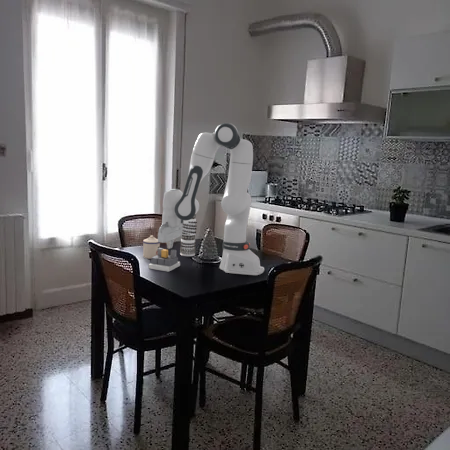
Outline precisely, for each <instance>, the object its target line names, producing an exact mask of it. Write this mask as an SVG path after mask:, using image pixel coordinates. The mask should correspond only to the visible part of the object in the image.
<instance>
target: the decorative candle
mask: <svg viewBox="0 0 450 450" xmlns="http://www.w3.org/2000/svg"><path fill="white" fill-rule="evenodd" d="M196 215H197V213H196V214H195V215H194V217H193V218H192V219H190V220H186V221H185V220H184V223H182V224H183V231H182V235H181V238H180V248H179V249H180V250H179V254H180V255H181V256H182V257H194V256H195V255H196V247H197V246H196V243H197V242H196V235H197V231H196V230H197V227H198V225H197V224H198V221H197V218H196V217H197V216H196Z"/></svg>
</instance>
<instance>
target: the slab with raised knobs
mask: <svg viewBox="0 0 450 450" xmlns="http://www.w3.org/2000/svg"><path fill="white" fill-rule="evenodd" d="M163 249H165V248H163V247H160V248H158V255H156V256H154V257H152V258H151V259H150V261H151V263H149V264H148V269H150V270H156V271H162V272H170V271H173V270H175V269H176V268H178V267H180V266H181V261H179V257H178V256H177V250H176V249H171V250H170V255H168V257H166V258H164V257H161V250H163Z"/></svg>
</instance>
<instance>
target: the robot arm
mask: <svg viewBox="0 0 450 450" xmlns="http://www.w3.org/2000/svg"><path fill="white" fill-rule="evenodd" d="M221 147H224V148H227V149H229V152H230V157H229V164H228V165H229V167H228V177H227V181H226V183H225V189H224V192H223V193H224V194H223V197H222V199H221V202H220V206H221V210H222V211H223V212H224V213H225V214H227V216H226V220H225V222H224V227H223V228H224V229H223V231H224V233H223V240H222V254H221V255H222V257H221V261H220V264H219V267H218V269H220V270H222V271H223V272H225V274H226V273H227V274H228V273H229V274H236V275H246V276H247V275H248V276H258V275H259V276H260V275H261V274H263V273H264V272H265V267H264V266H261V261H260V258H259V256H258V255H256V254H255V252H253V251H252V250H251V248H250V246H251V243H250V242H248V241H247V230H248V229H247V228H248V222H249V219H250V218H249V217H250V210H251V205H252V196H251V194H250V193H249V192H248V190H249V185H250V183H251V180H252V171H253V163H254V147H253V143H252V142H251V141H250V140H248V139H245V138H244V139H243V138H241V137H240V135H239V131H238V129H237V127H236V126H235V125H234V124H233V123H230V122H223V123H220V124H218V125H217V126H216V128H215V130H214V132H213V133H212V132H208V131H207V132H206V131H205V132H201V133H200V134H199V135H198V136H197V139H196V140H195V143H194V146H193V149H192V153H191V154H190V155H191V157H190V160H189V168H188V174H187V179H186V182H185V186H184V190H183V191H181V190H180V189H179V188H172V189H167V190H165V191H164V193H163V200H162V208H163V211H162V215H161V217H162V218H161V225H160V226H159V228H158V233H157V239H158V242H160V244H161V243H163V244H164V243H165V244H166V249H167V250H169V249H172V248H173V246H174V242H175V240H176V239H177V238H180V237H182V231H183V224H182V223H184V220H185V221H186V220H190V219H192V218H193V217H194V215H195V214H196V215H197V213H198V212H199V210H200V207H201V206H200V205H201V204H200V202H199V200H198V198H197V194H198V191H199V188H200V185H201V182H202V181H203V179H204V178H205V177H206V176H207V174H209V172H210V171H211V168H212V167H213V164H214V160H215V156H216V154H217V151H218V150H219V148H221Z"/></svg>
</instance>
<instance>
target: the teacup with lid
mask: <svg viewBox="0 0 450 450" xmlns="http://www.w3.org/2000/svg"><path fill="white" fill-rule="evenodd" d="M142 243H143V244H142V246H143V247H142V248H143V251H142V257H143V258H144V259H148V260H151V258H152V257H154V256H156V255H158V248H161V247H160V246H161V242H158V238H156V237H155V236H154V235H149V237H147V238H145V239H143V241H142Z"/></svg>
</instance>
